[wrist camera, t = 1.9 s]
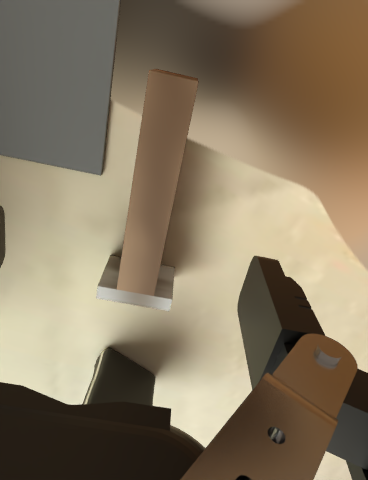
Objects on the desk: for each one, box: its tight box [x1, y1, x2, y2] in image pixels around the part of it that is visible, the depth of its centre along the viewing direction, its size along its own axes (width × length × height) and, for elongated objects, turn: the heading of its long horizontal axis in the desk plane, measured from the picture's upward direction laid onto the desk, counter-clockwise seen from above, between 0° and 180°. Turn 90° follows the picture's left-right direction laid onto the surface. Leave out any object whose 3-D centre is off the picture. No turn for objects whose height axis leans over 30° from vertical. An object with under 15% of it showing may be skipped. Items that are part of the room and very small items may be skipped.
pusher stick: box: [96, 69, 198, 311], centre depth 27 cm, size 6×17×5 cm, turn 168°
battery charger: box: [82, 348, 155, 406], centre depth 34 cm, size 7×4×11 cm, turn 49°
